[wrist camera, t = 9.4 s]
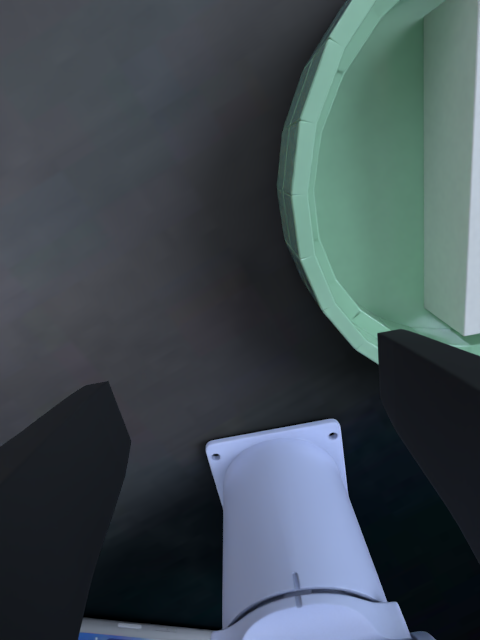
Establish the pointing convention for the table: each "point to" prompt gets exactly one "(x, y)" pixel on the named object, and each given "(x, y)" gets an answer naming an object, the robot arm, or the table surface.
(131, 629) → the smartphone
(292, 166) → the bowl
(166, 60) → the table surface
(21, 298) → the table surface
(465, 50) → the remote
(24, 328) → the table surface
